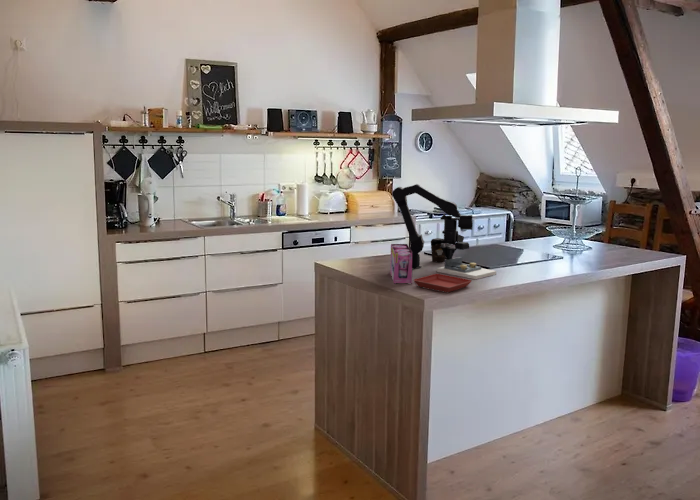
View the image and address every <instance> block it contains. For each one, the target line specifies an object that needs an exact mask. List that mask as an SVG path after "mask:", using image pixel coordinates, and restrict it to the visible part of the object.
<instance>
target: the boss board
mask: <svg viewBox="0 0 700 500" xmlns="http://www.w3.org/2000/svg"><path fill="white" fill-rule="evenodd" d="M468 265H469V266H471V267H472V268H474V266H477V263H476V262H470V263H468ZM460 268H462V269H463V270H465V268H467V265H460ZM436 272H438V273H442V274H446V275H447V274H448V275H451V276H458V277H461V278H466V279H467V278H468V279H471V280H477V279H478V280H479V279H482V278H487V277H490V276H495V275H497V270H493V269H489V268H488V269H486V268H483V267H481V269H479V270H475V271H470V272H466V273H465V272H460V271H455V270H450V269H445V268H444V266H440V267H436Z"/></svg>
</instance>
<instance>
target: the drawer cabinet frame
mask: <svg viewBox="0 0 700 500" xmlns="http://www.w3.org/2000/svg"><path fill="white" fill-rule="evenodd" d="M460 265H467V268H465V270H463V269H462V268H460ZM443 267H444V268H445V269H450V270H455V271H460V272H465V273H466V272H470V271H475V270H479V269H481V268H482V266H478V265H476V266H474V268H472V267H471V266H469V263H463V257H462V256H458V257H457V256H456V257H452V259H445V262H444V266H443Z"/></svg>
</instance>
